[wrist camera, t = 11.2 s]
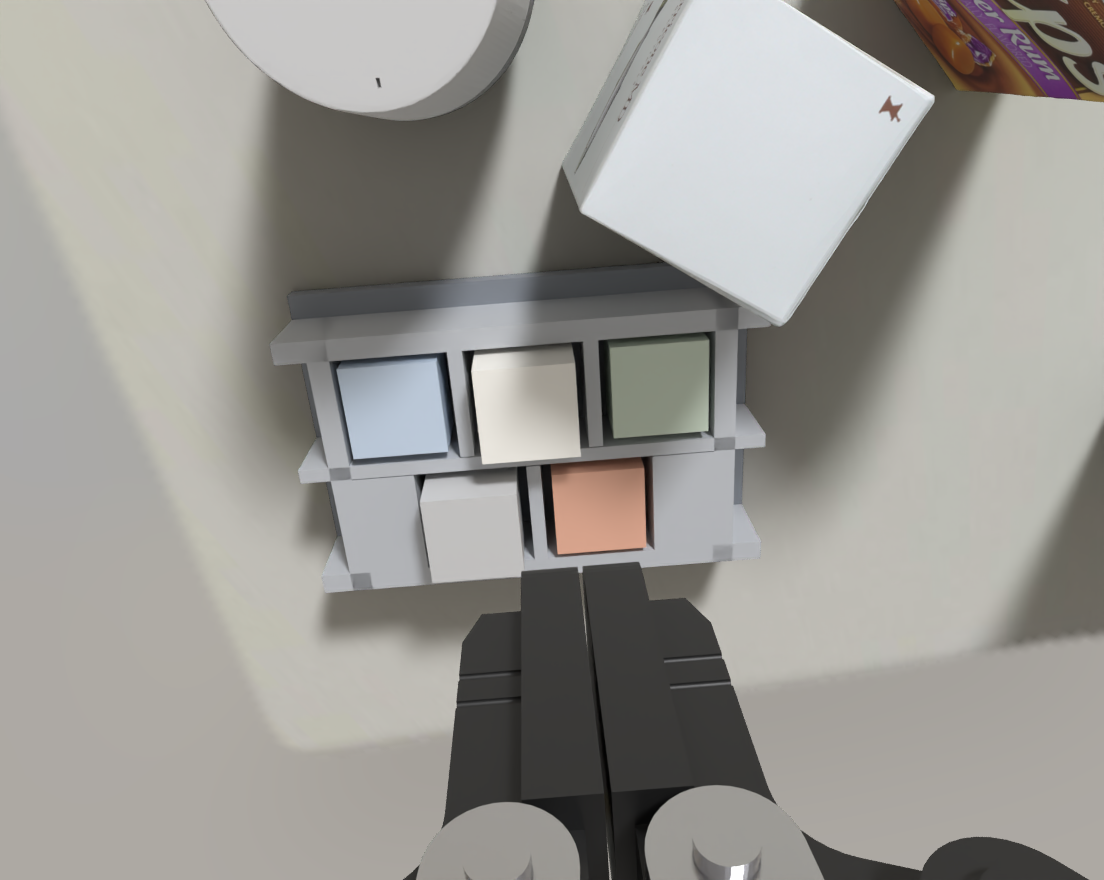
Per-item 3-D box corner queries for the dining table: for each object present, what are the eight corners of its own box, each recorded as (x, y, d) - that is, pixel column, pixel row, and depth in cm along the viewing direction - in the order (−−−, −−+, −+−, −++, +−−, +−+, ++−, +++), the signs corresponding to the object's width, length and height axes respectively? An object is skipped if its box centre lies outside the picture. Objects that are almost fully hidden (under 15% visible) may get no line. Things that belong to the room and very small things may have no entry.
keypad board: (744, 255, 36) (772, 278, 32) (737, 529, 41) (759, 577, 38) (291, 291, 36) (263, 318, 32) (347, 560, 41) (329, 611, 37)
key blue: (442, 339, 35) (435, 361, 32) (453, 423, 37) (448, 451, 34) (350, 346, 35) (336, 369, 32) (366, 430, 37) (353, 459, 34)
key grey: (516, 462, 36) (516, 494, 33) (524, 539, 38) (524, 576, 35) (427, 469, 36) (419, 502, 33) (438, 546, 38) (432, 583, 35)
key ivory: (570, 339, 34) (575, 363, 31) (576, 427, 35) (580, 456, 33) (475, 347, 34) (471, 371, 31) (485, 434, 35) (482, 464, 33)
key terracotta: (635, 439, 37) (644, 467, 35) (637, 514, 39) (646, 547, 36) (549, 446, 37) (551, 475, 35) (555, 520, 39) (557, 554, 36)
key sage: (694, 319, 35) (709, 340, 32) (694, 404, 37) (708, 430, 34) (603, 326, 35) (610, 348, 32) (607, 411, 37) (613, 438, 34)
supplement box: (646, -11, 31) (720, -61, 20) (800, 90, 33) (950, 98, 21) (554, 165, 34) (571, 212, 22) (701, 250, 36) (788, 334, 24)
